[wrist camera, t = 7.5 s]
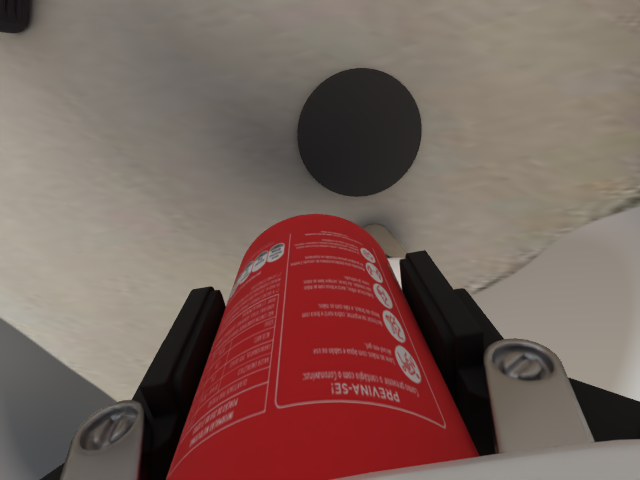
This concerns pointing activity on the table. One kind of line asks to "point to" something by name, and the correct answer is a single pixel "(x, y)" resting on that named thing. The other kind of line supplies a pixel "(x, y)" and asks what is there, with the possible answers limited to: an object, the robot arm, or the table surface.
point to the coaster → (359, 132)
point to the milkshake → (388, 247)
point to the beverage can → (317, 368)
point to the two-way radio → (13, 15)
